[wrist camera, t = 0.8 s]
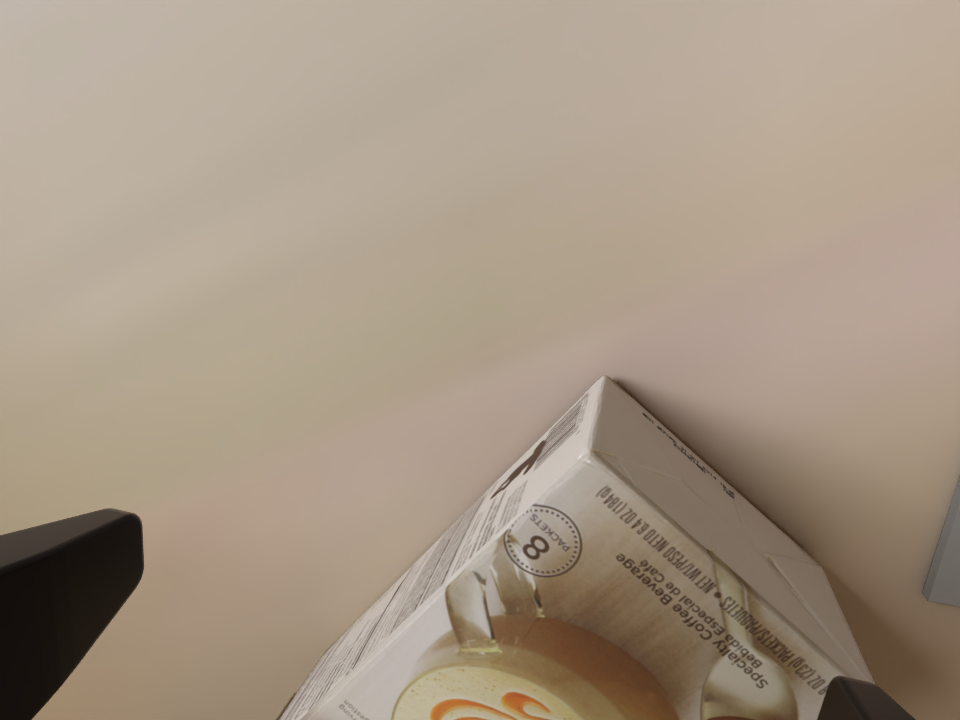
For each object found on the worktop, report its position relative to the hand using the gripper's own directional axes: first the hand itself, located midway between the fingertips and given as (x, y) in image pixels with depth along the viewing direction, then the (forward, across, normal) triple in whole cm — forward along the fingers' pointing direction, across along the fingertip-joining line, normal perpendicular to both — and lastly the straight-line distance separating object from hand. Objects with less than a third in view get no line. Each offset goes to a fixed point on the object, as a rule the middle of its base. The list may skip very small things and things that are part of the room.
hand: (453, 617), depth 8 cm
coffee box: (+10, -5, +2) cm, 11 cm away
